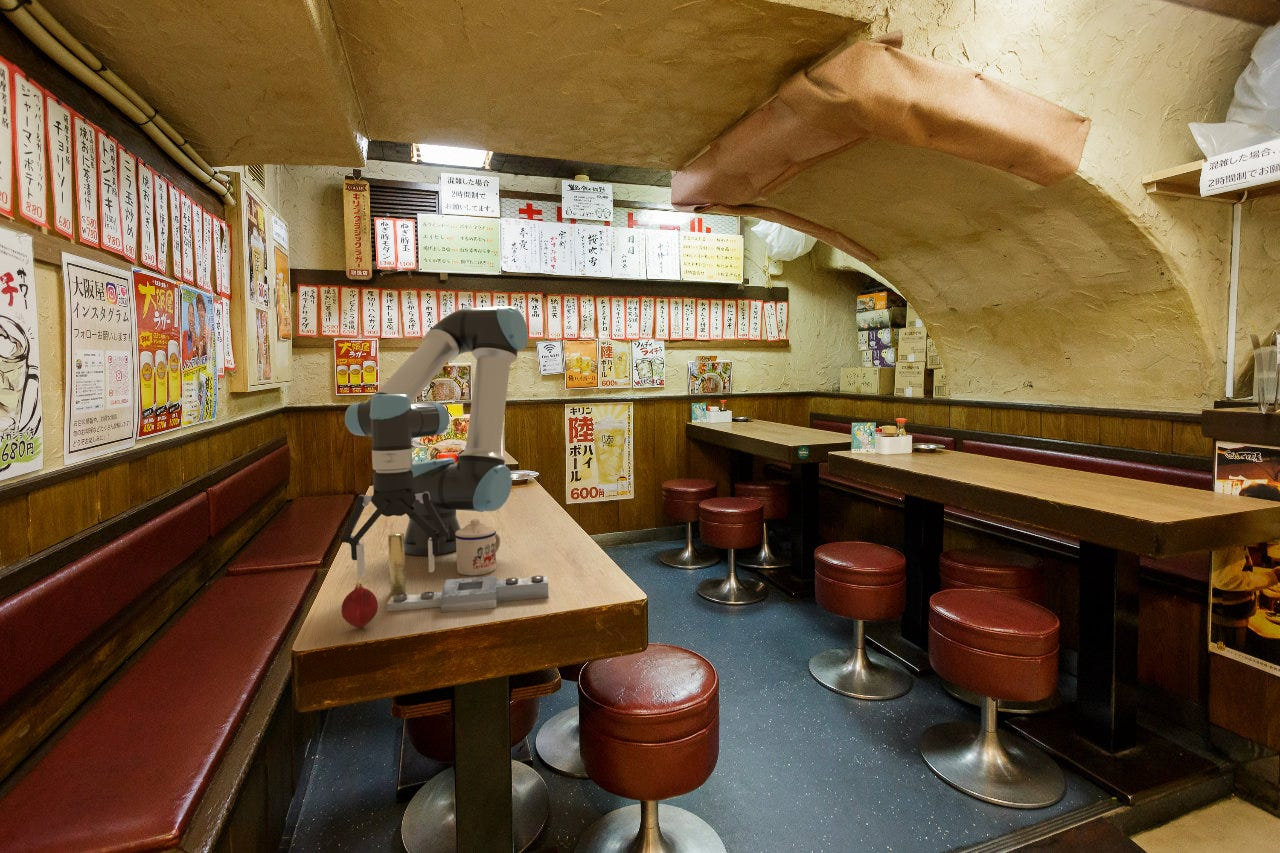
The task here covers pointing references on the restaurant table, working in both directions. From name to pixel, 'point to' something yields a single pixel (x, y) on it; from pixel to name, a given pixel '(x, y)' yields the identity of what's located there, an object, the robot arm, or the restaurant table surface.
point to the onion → (359, 607)
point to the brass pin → (397, 563)
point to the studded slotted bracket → (473, 594)
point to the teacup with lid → (476, 548)
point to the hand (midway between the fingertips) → (397, 572)
